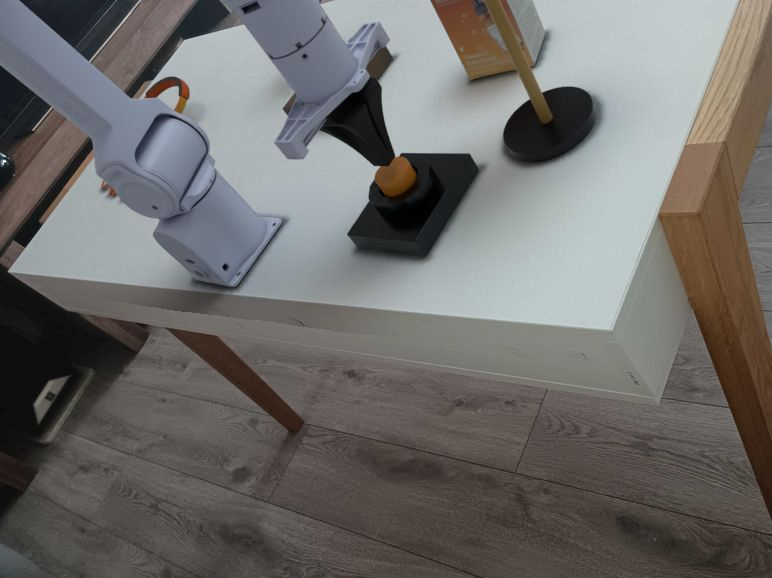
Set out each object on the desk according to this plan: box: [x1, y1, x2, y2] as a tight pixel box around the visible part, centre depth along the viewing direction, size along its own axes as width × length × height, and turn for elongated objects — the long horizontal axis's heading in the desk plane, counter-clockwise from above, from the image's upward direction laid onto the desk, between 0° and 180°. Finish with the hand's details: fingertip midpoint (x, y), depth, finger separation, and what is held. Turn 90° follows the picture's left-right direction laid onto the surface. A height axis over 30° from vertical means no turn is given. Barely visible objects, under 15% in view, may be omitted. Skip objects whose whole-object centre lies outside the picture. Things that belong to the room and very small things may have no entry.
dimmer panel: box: [282, 45, 394, 117], centre depth 93 cm, size 12×9×3 cm
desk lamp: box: [484, 0, 598, 164], centre depth 63 cm, size 10×10×24 cm
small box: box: [429, 0, 546, 81], centre depth 78 cm, size 8×6×10 cm
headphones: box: [101, 76, 191, 197], centre depth 109 cm, size 17×5×20 cm
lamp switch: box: [373, 156, 417, 197], centre depth 70 cm, size 4×4×2 cm
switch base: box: [346, 152, 480, 257], centre depth 72 cm, size 11×9×4 cm
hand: (384, 160), depth 69 cm, fingers closed
